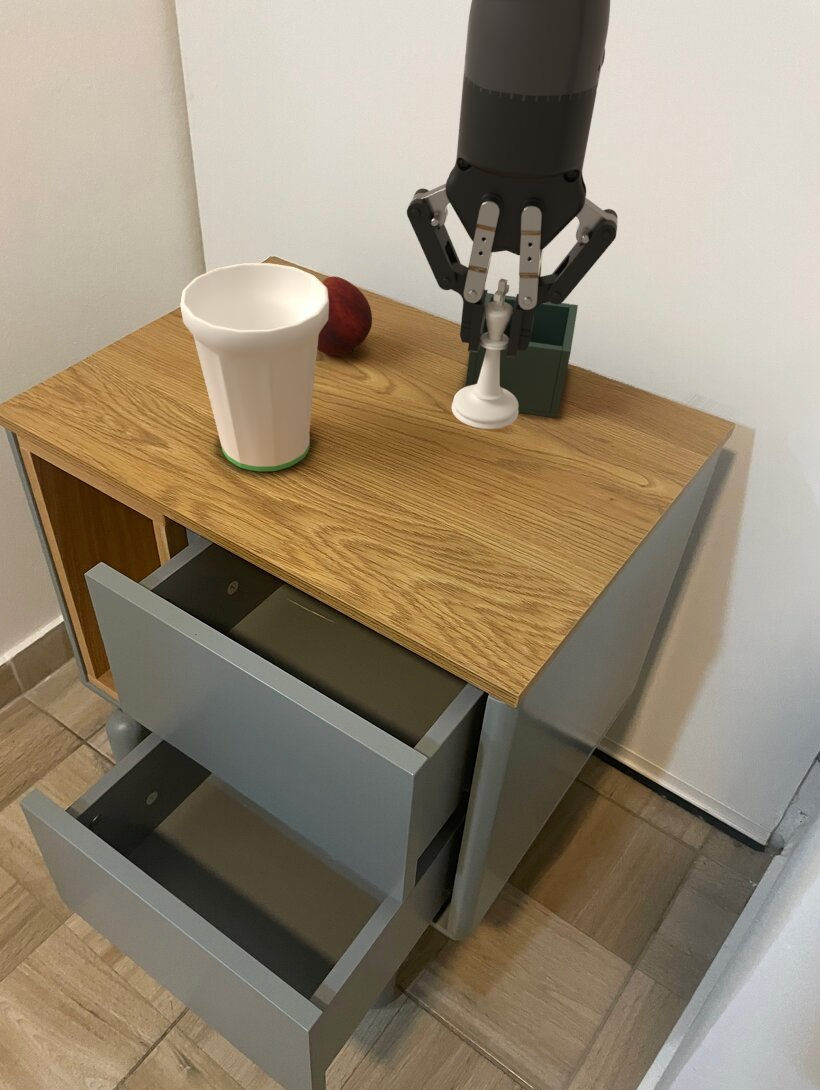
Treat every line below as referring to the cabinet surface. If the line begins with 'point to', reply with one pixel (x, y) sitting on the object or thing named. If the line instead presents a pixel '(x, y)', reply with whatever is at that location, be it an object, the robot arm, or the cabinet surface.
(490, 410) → the chess piece
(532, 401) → the bin
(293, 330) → the cup
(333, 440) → the cabinet surface
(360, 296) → the apple
